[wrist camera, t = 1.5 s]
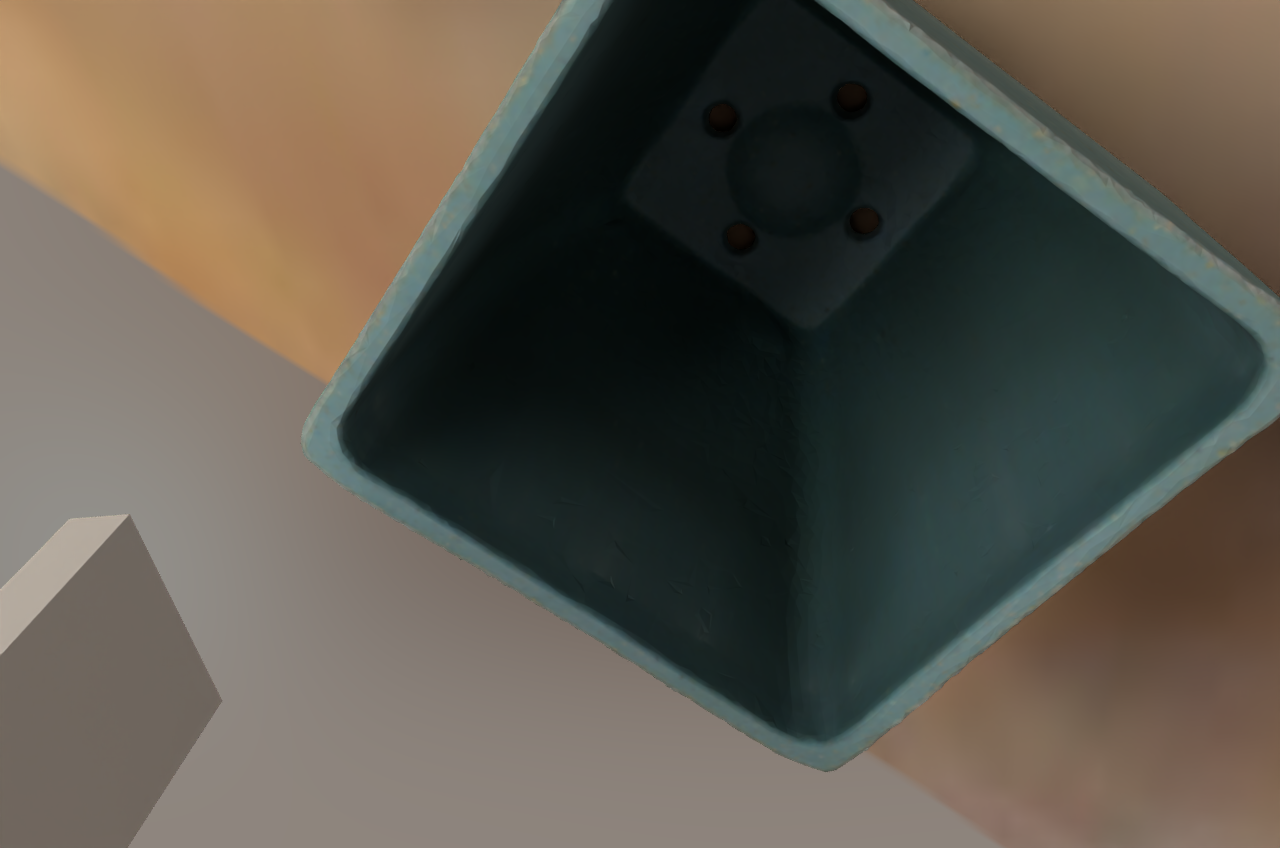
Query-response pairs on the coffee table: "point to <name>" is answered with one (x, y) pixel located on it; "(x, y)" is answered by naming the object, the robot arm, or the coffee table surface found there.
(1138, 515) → the flower pot
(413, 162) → the coffee table surface
